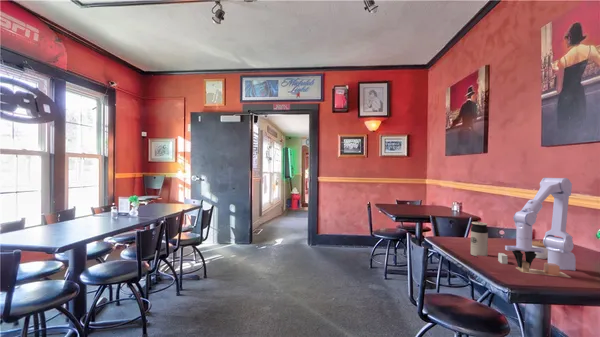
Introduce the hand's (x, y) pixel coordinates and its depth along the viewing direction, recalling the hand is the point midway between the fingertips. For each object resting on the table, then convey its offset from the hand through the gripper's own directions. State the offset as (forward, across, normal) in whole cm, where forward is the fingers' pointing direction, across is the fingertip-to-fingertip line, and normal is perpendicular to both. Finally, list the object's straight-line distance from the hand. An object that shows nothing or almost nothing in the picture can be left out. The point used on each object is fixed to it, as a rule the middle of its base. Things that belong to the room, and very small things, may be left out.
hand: (523, 267), depth 131 cm
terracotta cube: (+1, -10, +1) cm, 11 cm away
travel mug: (+3, +10, -25) cm, 27 cm away
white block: (+2, -3, -10) cm, 11 cm away
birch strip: (+2, -7, 0) cm, 7 cm away
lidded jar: (+3, -22, -33) cm, 40 cm away
